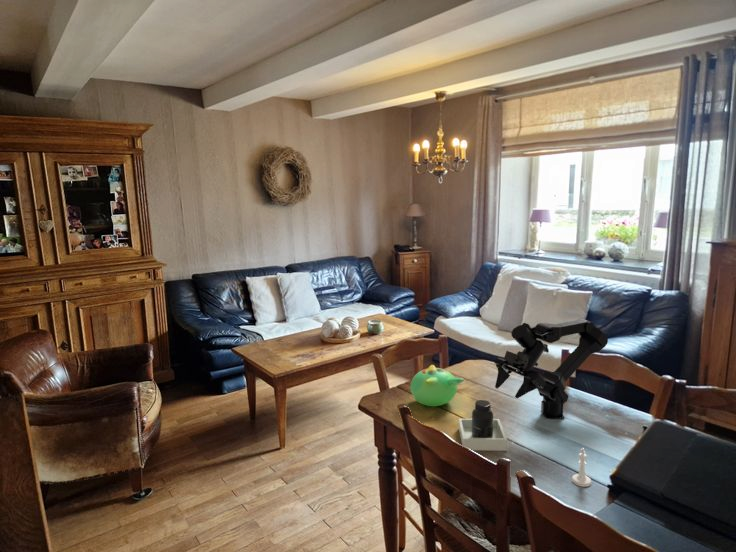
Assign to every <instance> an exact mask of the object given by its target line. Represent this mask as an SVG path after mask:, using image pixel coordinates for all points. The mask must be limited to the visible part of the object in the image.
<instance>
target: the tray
mask: <svg viewBox="0 0 736 552" xmlns="http://www.w3.org/2000/svg"><path fill="white" fill-rule="evenodd" d="M502 425H503V424H502V423H501V421H500V418H493V438H473V437H472V418H458V431H459V436H460V440H461V441H460V442H461V445H463V446H466V447H468V448H470V449H472V450H471V451H491V452H492V451H493V452H494V451H499V452H501V451H503V452H504V451H505V452H506V451H508V438H507V434H506V432H505V430H504V428H503V426H502ZM463 446H462V447H463Z"/></svg>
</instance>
